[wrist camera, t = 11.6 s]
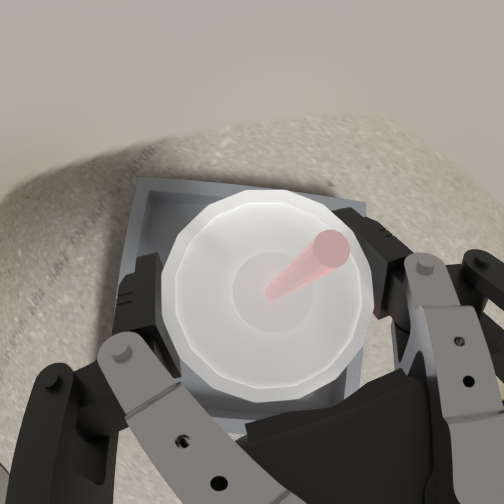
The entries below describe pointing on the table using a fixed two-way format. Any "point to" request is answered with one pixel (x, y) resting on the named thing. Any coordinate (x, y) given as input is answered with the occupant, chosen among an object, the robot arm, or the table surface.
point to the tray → (162, 240)
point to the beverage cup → (267, 295)
